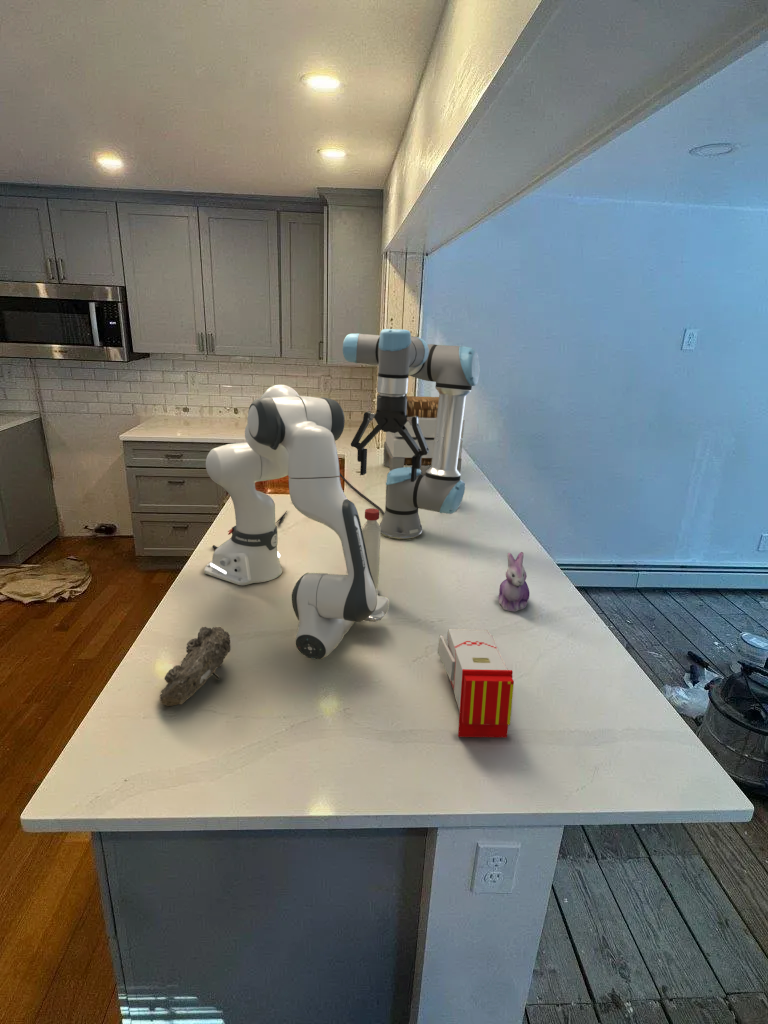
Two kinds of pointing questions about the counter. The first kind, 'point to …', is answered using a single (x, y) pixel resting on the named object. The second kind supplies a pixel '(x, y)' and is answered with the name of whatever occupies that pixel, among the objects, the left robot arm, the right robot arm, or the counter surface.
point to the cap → (372, 514)
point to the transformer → (396, 446)
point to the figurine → (514, 585)
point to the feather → (281, 518)
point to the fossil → (196, 665)
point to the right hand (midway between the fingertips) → (388, 477)
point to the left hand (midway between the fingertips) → (358, 588)
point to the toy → (478, 682)
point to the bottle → (372, 547)
